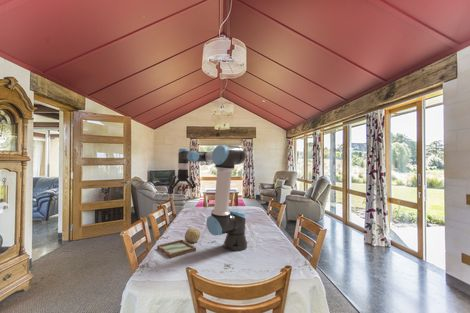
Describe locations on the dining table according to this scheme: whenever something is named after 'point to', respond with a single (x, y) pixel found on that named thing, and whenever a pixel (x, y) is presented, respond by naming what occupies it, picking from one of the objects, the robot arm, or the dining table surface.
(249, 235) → the dining table surface
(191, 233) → the coral
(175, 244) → the base
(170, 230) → the dining table surface
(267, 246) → the dining table surface
